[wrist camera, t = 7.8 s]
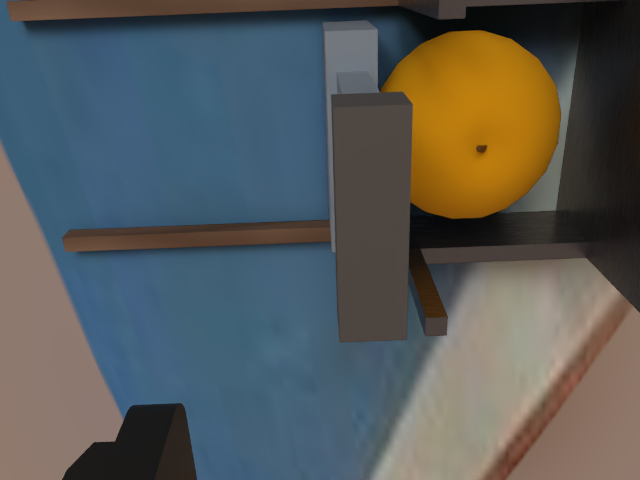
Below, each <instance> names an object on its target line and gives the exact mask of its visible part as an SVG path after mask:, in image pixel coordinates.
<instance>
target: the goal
mask: <svg viewBox="0 0 640 480" xmlns="http://www.w3.org/2000/svg"><path fill="white" fill-rule="evenodd" d="M570 2H584V9H583V17H582V24H581V32H580V39H579V46H578V54H577V61H576V69H575V76H574V83H573V91H572V98H571V106H570V113H569V120H568V128H567V135H566V143H565V150H564V158H563V165H562V172H561V180H560V187H559V195H558V202H557V209H556V211H540V212H514V213H493V214H490V215H487V216H485V217H482V218H457V219H451V218H448V217H444V216H440V215H438V216H413V217H410V231H409V269H408V283H409V286H410V289H411V292H412V296H413V299H414V302H415V305H416V308H417V312H418V315H419V318H420V321H421V324H422V327H423V331H424V334H425V336H444V335H447V319H448V317H447V314H446V312H445V309H444V307H443V304H442V302H441V299H440V297H439V294H438V292H437V289H436V287H435V284H434V282H433V279H432V277H431V274H430V272H429V269H428V267H427V264H441V263H466V262H492V261H517V260H543V259H568V258H587V259H588V260H589V261H590V262H591V263H592V264H593V265H594V266H595V267H596V268H597V269H598V270H599V271H600V272H601V273H602V274H603V275H604V276H605V277H606V278H607V279H608V281H609V282H610V283H611V284H612V285H613V286H614V287H615V288H616V289H617V290H618V291H619V292H620V293H621V294H622V295H623V296H624V297H625V298H626V299H627V300H628V301H629V302H630V303H631V304H632V305H633V306H634V307H635V308H636V309H637V310H638V311H639V312H640V0H398V6H401V7H404V8H407V9H410V10H413V11H416V12H418V13H421V14H424V15H427V16H430V17H433V18H436V19H463V18H465V15H466V7H472V6H496V5H521V4H546V3H570Z"/></svg>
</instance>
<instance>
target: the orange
mask: <svg viewBox="0 0 640 480" xmlns="http://www.w3.org/2000/svg"><path fill="white" fill-rule="evenodd" d="M380 92H404V94H405V95H406V96H407V98H408V99H409V100H410V101H411V103H412V104H413V119H412V156H411V194H410V202H411V203H412V204H414V205H416V206H417V207H419V208H420V209H422V210H424V211H426V212H428V213H432V214H436V215H440V216H444V217H448V218H451V219H457V218H482V217H485V216H487V215H490V214H493V213H495V212H498V211H501V210H503V209H506V208H507V207H509V206H510V205H511V204H513V203H514V202H516V201H517V200H518V199H520V198H521V197H523V196H524V195H525V194H527V193H528V192H529V190H530V189H531V188H532V187H533V186H534V185H535V183H536V182H537V181H538V180H539V179H540V177H541V176H542V175H543V174H544V173H545V172H546V170H547V168H548V165H549V163H550V161H551V158H552V156H553V153H554V151H555V149H556V146H557V144H558V136H559V129H560V121H561V109H560V104H559V99H558V93H557V88H556V85H555V83H554V81H553V80H552V78H551V77H550V75H549V74H548V72H547V71H546V69H545V68H544V66H543V65H542V63H541V62H540V61H539V59H538V58H537V57H535V56H534V55H533V54H531V53H530V52H528V51H527V50H526V49H524V48H523V47H522V46H520V45H519V44H518V43H516V42H515V41H513V40H512V39H510V38H506V37H503V36H500V35H496V34H493V33H490V32H486V31H482V30H473V31H453V32H447V33H445V34H442V35H440V36H438V37H435V38H433V39H431V40H428V41H426V42H424V43H422V44H420V45H419V46H418V47H417V48H416V49H414V50H413V51H412V52H411V53H410V54H408V55H407V56H406V57H405V58H404V59H402V60H401V61H400V62H399V63H398V64H397V66H396V67H395V69H394V70H393V72H392V73H391V75H390V76H389V77H388V79H387V80H386V82H385V83H384V85H383V86H382V88H381V90H380Z"/></svg>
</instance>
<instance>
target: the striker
mask: <svg viewBox="0 0 640 480" xmlns="http://www.w3.org/2000/svg"><path fill="white" fill-rule="evenodd" d="M323 51H324V81H325V111H326V141H327V171H328V201H329V220H330V234H331V248H332V253H336V282H337V313H338V326H339V339H340V342H365V341H391V340H407V306H408V269H409V231H410V194H411V156H412V119H413V104H412V103H411V101H410V100H409V99H408V98H407V96H406V95H405V94H404V92H379V90H378V29H377V28H376V27H374V26H373V25H372V24H371V23H369V22H368V21H367V20H360V21H335V22H323Z"/></svg>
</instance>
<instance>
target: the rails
mask: <svg viewBox="0 0 640 480" xmlns="http://www.w3.org/2000/svg"><path fill="white" fill-rule="evenodd" d="M7 6H8V10H9V14H10V19H11V21H30V20H55V19H79V18H104V17H129V16H153V15H178V14H202V13H227V12H251V11H276V10H300V9H325V8H350V7H374V6H398V0H23V1H8V2H7ZM62 239H63V243H64V248H65V252H76V251H101V250H127V249H152V248H177V247H203V246H228V245H254V244H279V243H305V242H330V241H331V234H330V220H312V221H286V222H261V223H235V224H210V225H185V226H159V227H134V228H109V229H83V230H69V231H68V232H67V233H66V234H65V235H64V236H63V237H62Z"/></svg>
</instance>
